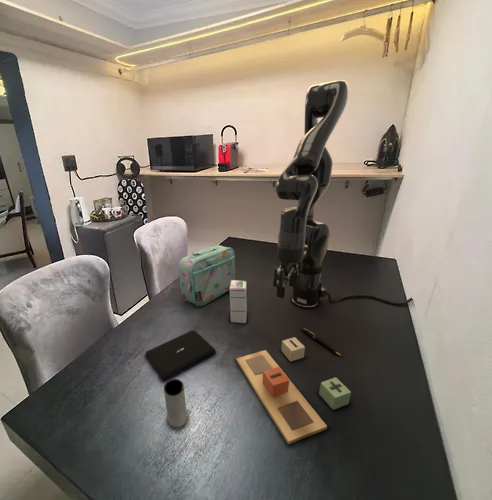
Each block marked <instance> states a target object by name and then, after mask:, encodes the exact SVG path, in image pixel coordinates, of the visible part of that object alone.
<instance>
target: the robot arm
mask: <svg viewBox="0 0 492 500" xmlns="http://www.w3.org/2000/svg"><path fill="white" fill-rule="evenodd" d="M305 94H306V95H305V100H304V135H303V137H302V138H301V139H300V141H299V143H298V144H297V147H296V149H295V152H294V154H293V158H292V160H291V161H290V162H289V163H288V165H287V166H286V167H285V169H284V170H283V171H282V172H281V174H280V175H279V177H278V179H277V181H276V183H275V194H276V197H278V199H280V200H284V201H285V200H286V201H298V203H297V206H292V207H287V208H286V207H285V208H284V209H282V210H281V212H280V216H279V217H280V220H279V230H278V235H277V247H276V248H277V249H276V258H277V260H279V261H280V265H279V267H275V268H274V272H273V273H274V274H273V281H272V282H273V284H272V286H273V287H275V288H276V297H278V298H280V299H284V298H285V296H286V285H287V283H288V285H289V287H291V288H292V296H291V301H292V303H293V304H294V305H296V306H297V307H299V308H304V309H313V308H316V307H317V306H318V304H320V303H321V298H326V295H327V297H328V301H329V302H331V303H336V302H341V301H343V300H345V299H349V298H371V299H375V300H378V301H381V302H384V303H387V304H390V305H396V306H404V305H408V304H409V303H411V302H412V301H414V300H413V299H412V297H410V298H408V299H407V300H405V301H401V302H397V301H391V300H388V299H385V298H382V297H379V296H375V295H371V294H364V293H363V294H362V293H361V294H360V293H358V294H348V295H344V296H341V297H339V298H337V299H332V296H331V293H329V292H328V291H327V289H326V288H324V287H323V281H322V280H321V279H322V272H323V265H324V260H325V258H326V255H327V253H328V247H329V242H330V238H331V237H330V236H331V231H330V230H331V229H330V227H329V225H328V224H327V223H326V222H321V221H319V220H315V218H314V217H315V211H316V205H317V204H318V203H319V200H320V199H321V198H322V196H323V195H324V194H325V192H326V190H327V189H328V187H329V185H330V183H331V179H332V171H333V165H334V164H333V158H332V156H331V153H330V152H329V150H328V148H327V145H326V144H327V142H328V141H329V139H330V137H331V135H332V134H333V132H334V130H335V128H336V127H337V125H338V123H339V121H340V119H341V117H342V115H343V114H344V111H345V109H346V107H347V103H348V99H349V85H348V83H347V81H346V80H342V79H341V80H333V81H328V82H323V83H318V84H313V85H310V87H309V88H308V89H307V91H306V93H305ZM319 119H321V120H319ZM318 120H319V121H318ZM305 246H306V247H305ZM305 248H306V250H305Z"/></svg>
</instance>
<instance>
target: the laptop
mask: <svg viewBox="0 0 492 500" xmlns="http://www.w3.org/2000/svg"><path fill="white" fill-rule="evenodd" d="M216 353H217V352H216V349H215V348H214V347H213V346H212V345H211V344H210V343H209V342H208V341H207V340H206V339H205V338H204V337H202V335H200V334H199V333H198V332H197V331H196V330H194V329H193V330H189V331H187V332H185V333H183V334H181V335H179V336H177V337H174V338H172V339H170V340H168V341H166V342H163V343H161V344H159V345H157V346H155V347H153V348H151V349H149V350H146V352H145V356H146V358H147V359H148V361H149V363H150V364H151V365H152V367H153V369H154V370H155V371H156V372H157V374H158V375H159V377H160V378H161V380H162V381H163V382H165V381H166V382H167V381H169V380H170V379H171V378H174V377H176V376H177V375H179V374H181V373H182V372H184V371H186V370H188V369H190V368H191V367H194V366H195V365H197V364H199V363H200V362H201V363H202V362H203V361H204V360H206V359H208V358H210V357H212V356H213V355H215V354H216Z"/></svg>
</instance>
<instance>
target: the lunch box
mask: <svg viewBox="0 0 492 500" xmlns="http://www.w3.org/2000/svg"><path fill="white" fill-rule="evenodd" d="M177 267H178V268H177V269H178V278H179V285H180V293H181V297H182V299H183V300H185V301H187V302H190V303H193V304H194V305H195V306H197V307H202V306H205V305H206V304H209V303H210V302H212V301H214V300H216V299H218V298H219V297H221V296H222V295H224V294H225V293H227V292H230V283H231V280H237V268H236V253H235V249H233V248H232V247H229V246H228V247H227V246H223V245H220V244H218V245H217V244H216V245H213V246H209V247H206V248H204V249H201V250H198V251H195V252H192V253H190V254H188V255H186V256H184V257H182V258H181V259H180V260H179V263H178V266H177Z"/></svg>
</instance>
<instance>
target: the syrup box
mask: <svg viewBox="0 0 492 500" xmlns="http://www.w3.org/2000/svg"><path fill="white" fill-rule="evenodd" d="M247 297H248V296H247V281H246V280H242V279H241V280H240V279H236V280H231V283H230V290H229V309H230V310H229V313H230V315H229V316H230V323H238V324H247V313H248V309H247V308H248V307H247V306H248V299H247Z"/></svg>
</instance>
